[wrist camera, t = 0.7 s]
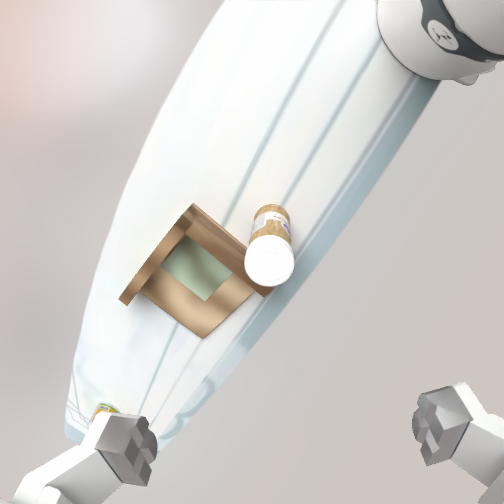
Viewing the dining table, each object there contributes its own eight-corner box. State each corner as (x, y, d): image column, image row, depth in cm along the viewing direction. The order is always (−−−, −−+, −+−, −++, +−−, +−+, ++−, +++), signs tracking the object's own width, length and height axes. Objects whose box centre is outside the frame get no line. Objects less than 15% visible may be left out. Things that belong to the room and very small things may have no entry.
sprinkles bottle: (296, 220, 41) (305, 266, 28) (271, 243, 42) (269, 297, 30) (271, 195, 40) (269, 231, 27) (246, 220, 41) (233, 265, 29)
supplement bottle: (111, 418, 62) (97, 449, 53) (94, 404, 60) (78, 434, 51) (124, 413, 60) (110, 446, 51) (106, 399, 59) (90, 431, 50)
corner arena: (193, 202, 41) (182, 214, 36) (273, 270, 44) (273, 289, 39) (132, 281, 46) (118, 298, 41) (203, 336, 49) (196, 357, 44)
